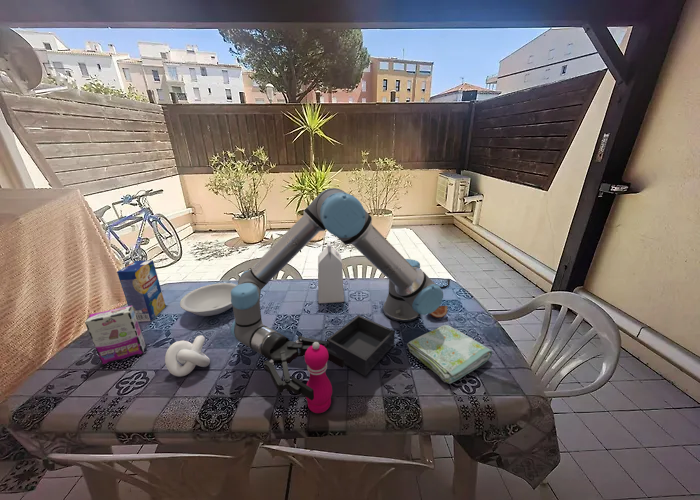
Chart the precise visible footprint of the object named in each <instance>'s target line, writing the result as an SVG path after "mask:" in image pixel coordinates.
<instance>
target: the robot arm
mask: <svg viewBox="0 0 700 500" xmlns="http://www.w3.org/2000/svg"><path fill="white" fill-rule="evenodd" d="M372 223H373V217H372V215H370V213H369V212H368V211H367V210H366V209H365V208H364V206H363V204H362V202H360V200H359V199H358V198H357V197H355V196H354V195H352V194H350V193H348V192H345V191H344V190H343V189H340V188H336V187H333V188H332V187H331V188H327V189H325V190H323V191H321V192H320V193H319V194H318V195H316V197H315V198H314V199H313V200H312V201H311V202H310V203H309V205H308V206H307V207H306V208H304V209H303V214H302V216H301V217H300V218H299V219H298V220H297V221H296V223H294V224H293V225H292V226H291V227H290V228H289V229H288V230H287V231H286V232H285V233H284V234H283V235H282V236H281V238H279V239H278V241H277V242H275V243H274V244H273V246H271V247H270V248H269V249H268V250H267V252H265V254H263V256H262V257H261V258H260V259H258V261H256V262H255V264H254V265H252V267H250V268H249V269H248V270H245V271H243V272H242V273H241V274H240V276H239V278H238V280H237V284H236V285H237V286H235V288H233V289H232V290H231V303H232V311H233V317H234V321H233V322H232V324H231V328H230V335H231V336H232V337H233V338H234V339H235V340H237V341H238V342H239V343H241V344H242V345H244V346H246V347H248V348H249V349H251V350H253V351H254V352H256V353H257V354H258V355H261V356H262V357H264V358H265V359H267V360H264V361H263V367H264V371H265V372H266V373H268V375H269V376H270V378H271V380H272V382H273V384H274V386H275V388H276V390H277V391H278V393H279V394H282V393H284V391H285V390H286V391H285V392H291V391H292V392H293V393H294V394H296V395H299V394H301V395H302V396H304V397H305V398H306V397H307V398H309V399H310V400H313V399H314V392H313V389H312V388H310V387H309V386H307V385H306V384H305V383H304V382H303V381H302V380H299V379H298V378H296V377H294V376H293V377H290V376H291V375H290V371H289V367H288V364H291V363H293V361H294V360H297V358H302V357H305V352H306V350H307V349H308V348H309V347H310V346H312V345H313V343H314V342H318V343H319V344H320V345H323V346H324V347H325V348H326V349H327V351H328V354H329V358H328V361H327V362H330V363H332V364H334V365H335V366H338V367H340V368H341V369H343V368H344V367H345V364H344V358H342V357H340V356H338V355H336V352H334V351H332V350H330V349H329V342H328V341H327V340H321V339H315V338H310V337H309V338H308V337H305V336H303V335H298V336H297V337H298V338H297V340H295V341H293V340H290V339H289V338H288V337H287V336H286V335H284V334H282V333H280V332H278V331H276V330H274V329H273V328H270V327H269V326H267V325H265V324H263V319H262V313H261V291H262V290H263V288H265V287H266V286H267V284H269V282H270V281H271V280H272V279H273V278H274V277H275V276H277V274H279V272H280V271H281V270H282V269H284V268H285V267H286V265H288V264H289V262H291V261H292V260H293V258H295V257H296V256H297V255H298V254H299V252H301V250H303V249H304V248H305V247H306V246H307V244H308V243H310V242H311V241H312V240H313V239H314V238H315V237H316V236H317V235H318V234H319V233H320V232H325V231H327V232H328V233H330V234H331V235H333V236H334V237H336V238H337V239H338V240H339V241H340V242H341V243H343V244H344V245H352V246H353V247H354V248H355V249H356V250H357V251H358V252H360V254H361V255H362V256H364V257H365V258H366V259H367V260H368V261H369V262H370V263H371V264H372V265H373V266H374V267H375V268H376V269H378V271H380V273H382V274H383V275H384V276H385V277H386V278H387V279H388V293H387V296H386V300H385V301H384V303H383V308H382V309H383V310H382V311H383V314H384V315H385V317H387V318H388V319H390V320H392V321H395V322H400V323H410V322H415V321H416V320H417V319H419V318H420V315H422V316H425V315H429V314H430V313H432V312H434V311H435V310H436V309H437V308H438V307H439V306H442V303H443V299H444V291H443V289H444V288H447V287H449V286H450V281H451V279H449V278H448V279H447V284H448V285H447V284H446V285H447V286H445V285H442V286H443V287H441V286H440V285H439V284H436V283H435V282H434V281H433V279H431V277H429V276H428V274H427V273H425V271H424V270H422V268H421V263H420V262H419V260H416V259H411V258H405V257H404V256H403V255H402V254H401V253H400V252H399V251H398V250H397V249H396V248H395V247H394V245H392V244H391V243H390V241H389V240H388V239H387V238H385V236H383V234H382V233H381V232H380V231H379V230H378V229H377V228H376V227H375V225H373V224H372ZM275 365H281V367H282V368H281V369H282V373H283V378H284V379H283V381H282V378H281V376H280V375H279V372H278V371H277V369H276V367H275Z"/></svg>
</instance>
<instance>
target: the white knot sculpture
mask: <svg viewBox="0 0 700 500" xmlns="http://www.w3.org/2000/svg"><path fill="white" fill-rule="evenodd" d="M205 342H206V338H205V336H204V335H201V334H200V335H197V336H196V337H195V338H194V340H193V342H190V341H188V340H178V341H175V342H173V343H172V344H171V345H170V346H169V347H168V348H167V350H166V353H165V355H164V365H165V367H166V369H167V371H168V372H169V373H170V374H171V375H172V376H175V377H179V378H181V377H185V376H187V375H189V374H190V373H191V372H193V371H194V370H195V367H196V366H197V367H201V368H206V367H208V366H209V365H210V364H211V360H210V359H211V358H210V357H208V355H206V354H205V353H204V352H203V351H202V350H203V347H204V345H205Z"/></svg>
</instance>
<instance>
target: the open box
mask: <svg viewBox="0 0 700 500" xmlns="http://www.w3.org/2000/svg"><path fill="white" fill-rule="evenodd" d="M395 335H396V331H395V330H394V329H392V328H389V327H387V326H385V325H382V324H380V323H378V322H376V321H373V320H371V319H369V318H366V317H364V316H361V315H357V316H355V317H354V318H353V319H351V320H350V321H348V323H346V324H345V325H343V326H342V327H341V328H340V329H338V330H337V331H336V332H334V333H333V334H332V335H330V336H329V337H328V338H326V341H328V342H329V349H330V350H332V351H334V352H336V355H338V356H340V357H342V358H344V366H347V367H349V368H350V369H352V370H353V371H355V372H356V373H359V374H360V375H363V376H364V377H366V376H367V375H368V374H369V373H370V372H371V371H372V370H373V368H374V367H375V366H377V364H378V363H379V362H380V361H381V360H382V359H383V358H384V357H385V355H387V353H388V352H390V350H391V349H392V348H393V347H394V346H395Z"/></svg>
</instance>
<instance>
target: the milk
mask: <svg viewBox="0 0 700 500" xmlns="http://www.w3.org/2000/svg"><path fill="white" fill-rule="evenodd" d="M317 288H318V289H317V293H318V294H317V297H318V301H317V302H318V303H317V304H330V303H331V304H332V303H344V302H345V294H344V293H345V292H344V272H343V260H342V256H341V254H340V252H339V251H338V250H337V249H335V248H333V246H332V244H331V241H329V240H328V241H327V246H326V247H325V248H324V249H323V250H322V251H321V252H320V253H319V254H318V256H317Z"/></svg>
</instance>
